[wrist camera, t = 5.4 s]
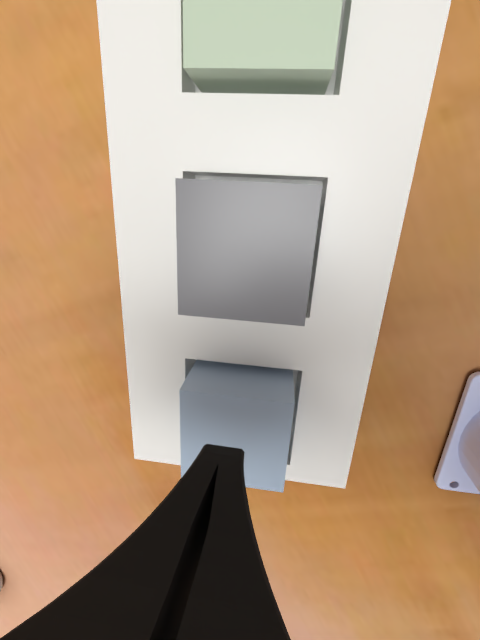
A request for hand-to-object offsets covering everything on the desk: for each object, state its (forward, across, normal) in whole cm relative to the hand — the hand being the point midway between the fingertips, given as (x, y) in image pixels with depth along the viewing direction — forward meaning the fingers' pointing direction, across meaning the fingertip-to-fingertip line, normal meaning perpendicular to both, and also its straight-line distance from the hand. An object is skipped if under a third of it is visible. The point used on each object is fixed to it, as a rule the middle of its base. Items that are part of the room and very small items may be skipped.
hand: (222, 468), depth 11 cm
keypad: (+8, 0, -7) cm, 11 cm away
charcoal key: (+6, 0, -7) cm, 9 cm away
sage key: (+7, 0, -15) cm, 17 cm away
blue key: (+6, 0, +2) cm, 6 cm away
